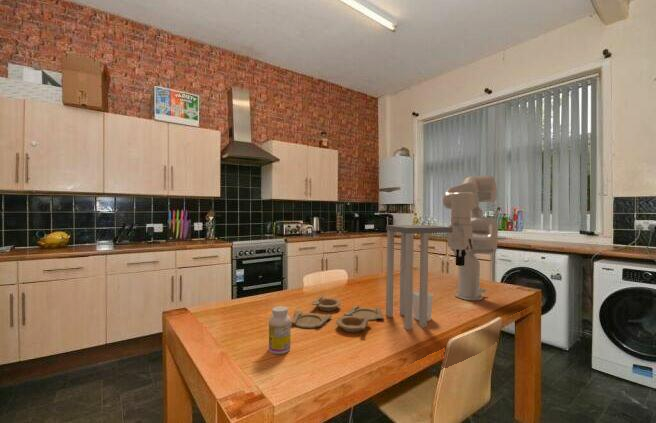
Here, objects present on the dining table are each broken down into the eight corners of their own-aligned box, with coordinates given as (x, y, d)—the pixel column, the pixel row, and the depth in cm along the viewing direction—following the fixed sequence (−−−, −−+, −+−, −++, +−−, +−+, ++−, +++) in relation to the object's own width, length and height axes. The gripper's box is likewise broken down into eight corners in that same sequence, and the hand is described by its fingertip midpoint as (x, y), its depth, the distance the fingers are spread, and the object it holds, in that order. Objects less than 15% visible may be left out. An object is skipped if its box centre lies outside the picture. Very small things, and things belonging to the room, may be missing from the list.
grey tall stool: (425, 310, 128) (427, 224, 127) (450, 323, 114) (452, 227, 113) (384, 315, 121) (386, 225, 121) (406, 330, 107) (407, 228, 107)
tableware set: (281, 326, 111) (281, 315, 111) (312, 302, 138) (312, 293, 138) (374, 342, 99) (375, 329, 99) (388, 312, 126) (388, 303, 126)
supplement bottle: (269, 345, 95) (270, 305, 94) (290, 344, 95) (291, 304, 95) (267, 355, 88) (267, 312, 88) (290, 354, 88) (290, 312, 88)
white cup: (430, 315, 122) (431, 291, 122) (433, 322, 115) (434, 297, 114) (411, 313, 124) (411, 290, 124) (412, 320, 116) (413, 295, 116)
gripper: (441, 220, 130) (440, 262, 131) (467, 223, 116) (466, 270, 116) (454, 220, 132) (454, 261, 133) (482, 222, 118) (481, 268, 119)
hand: (460, 265), depth 125 cm, fingers closed
